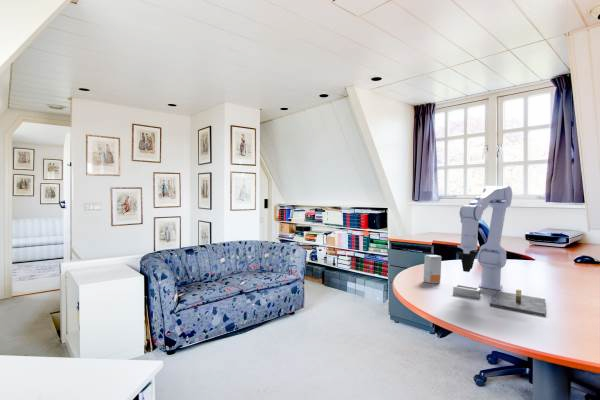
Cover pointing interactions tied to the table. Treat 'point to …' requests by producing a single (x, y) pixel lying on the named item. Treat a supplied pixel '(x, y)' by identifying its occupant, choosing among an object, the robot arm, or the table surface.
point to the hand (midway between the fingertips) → (467, 270)
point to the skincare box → (432, 268)
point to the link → (467, 291)
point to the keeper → (519, 303)
